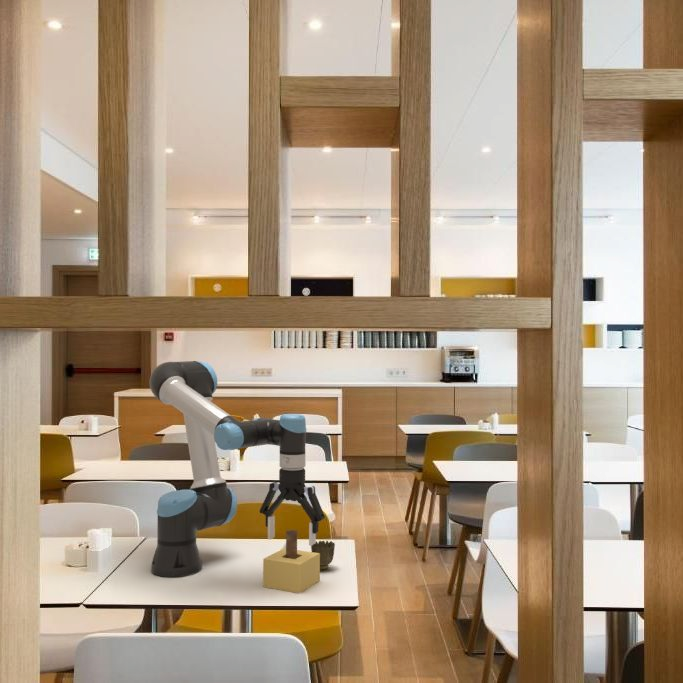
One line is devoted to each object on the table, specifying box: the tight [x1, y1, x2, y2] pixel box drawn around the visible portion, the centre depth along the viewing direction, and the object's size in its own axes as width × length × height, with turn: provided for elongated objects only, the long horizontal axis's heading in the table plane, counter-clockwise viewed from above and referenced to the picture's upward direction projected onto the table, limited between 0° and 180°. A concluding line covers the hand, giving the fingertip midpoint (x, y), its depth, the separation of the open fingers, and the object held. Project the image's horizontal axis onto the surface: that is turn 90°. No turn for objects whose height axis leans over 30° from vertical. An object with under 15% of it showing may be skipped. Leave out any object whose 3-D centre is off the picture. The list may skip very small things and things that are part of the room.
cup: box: [310, 540, 336, 571], centre depth 223 cm, size 8×7×8 cm
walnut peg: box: [285, 529, 298, 559], centre depth 210 cm, size 3×3×14 cm
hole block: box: [262, 548, 321, 594], centre depth 210 cm, size 12×12×8 cm
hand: (291, 541), depth 210 cm, fingers open, 13 cm apart
